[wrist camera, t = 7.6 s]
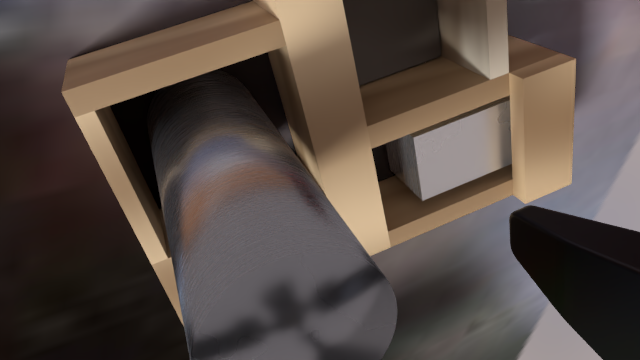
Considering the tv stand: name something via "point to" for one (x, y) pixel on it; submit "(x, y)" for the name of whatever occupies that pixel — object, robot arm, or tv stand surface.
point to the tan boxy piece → (427, 35)
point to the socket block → (331, 116)
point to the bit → (258, 236)
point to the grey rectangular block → (454, 150)
